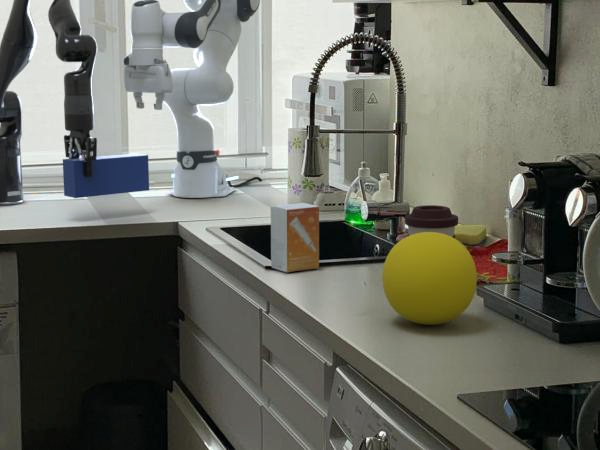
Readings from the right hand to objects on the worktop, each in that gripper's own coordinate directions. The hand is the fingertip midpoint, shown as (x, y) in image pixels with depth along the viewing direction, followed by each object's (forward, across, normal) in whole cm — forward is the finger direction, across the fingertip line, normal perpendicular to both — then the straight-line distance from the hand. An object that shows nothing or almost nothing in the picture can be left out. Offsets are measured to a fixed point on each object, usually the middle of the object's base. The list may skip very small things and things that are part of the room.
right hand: (149, 109), depth 293 cm
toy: (+28, -139, +33) cm, 146 cm away
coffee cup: (+28, -121, +13) cm, 125 cm away
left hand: (+16, -6, +25) cm, 30 cm away
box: (+22, -6, +17) cm, 28 cm away
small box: (+28, -91, +22) cm, 98 cm away
